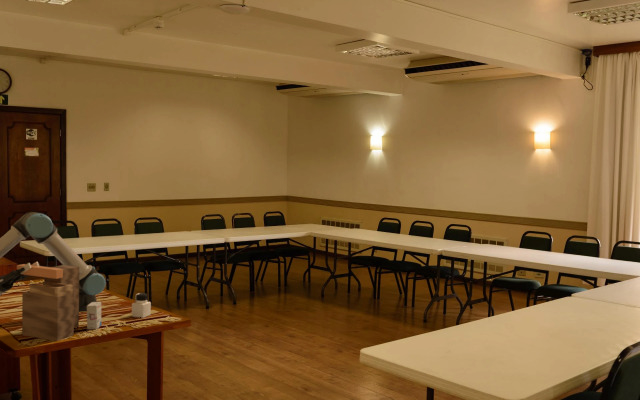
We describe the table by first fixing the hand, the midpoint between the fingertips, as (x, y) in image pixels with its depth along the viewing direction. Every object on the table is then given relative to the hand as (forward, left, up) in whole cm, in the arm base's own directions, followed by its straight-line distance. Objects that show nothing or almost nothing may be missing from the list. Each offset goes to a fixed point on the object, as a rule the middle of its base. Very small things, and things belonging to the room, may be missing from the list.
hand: (34, 264), depth 287 cm
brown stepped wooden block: (-6, +8, -32) cm, 34 cm away
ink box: (-21, +17, -33) cm, 42 cm away
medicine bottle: (-50, +23, -33) cm, 64 cm away
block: (0, +3, -5) cm, 6 cm away
